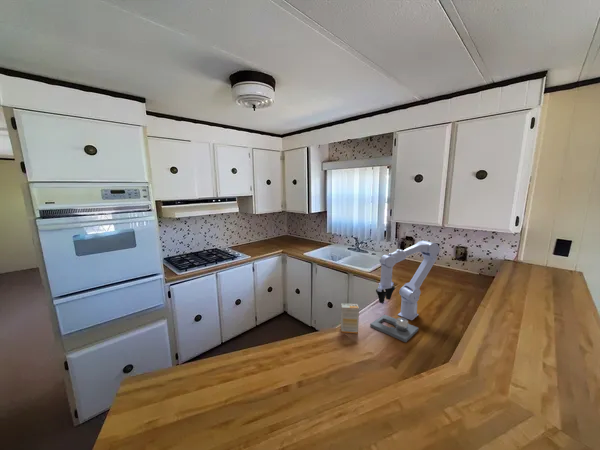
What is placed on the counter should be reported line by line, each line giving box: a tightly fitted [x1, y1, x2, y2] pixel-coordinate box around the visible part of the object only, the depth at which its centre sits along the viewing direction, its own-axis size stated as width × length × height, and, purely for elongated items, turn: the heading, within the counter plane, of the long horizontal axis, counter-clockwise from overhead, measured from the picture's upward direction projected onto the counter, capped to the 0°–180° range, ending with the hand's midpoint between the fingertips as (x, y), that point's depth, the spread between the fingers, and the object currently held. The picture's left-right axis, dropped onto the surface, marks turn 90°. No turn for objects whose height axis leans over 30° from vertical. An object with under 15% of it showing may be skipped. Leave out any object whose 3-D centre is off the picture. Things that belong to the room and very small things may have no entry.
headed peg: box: [395, 317, 409, 332], centre depth 115 cm, size 5×5×6 cm
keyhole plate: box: [369, 314, 419, 343], centre depth 118 cm, size 15×18×2 cm
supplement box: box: [340, 303, 360, 335], centre depth 114 cm, size 8×5×13 cm, turn 84°
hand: (384, 301), depth 128 cm, fingers open, 7 cm apart
